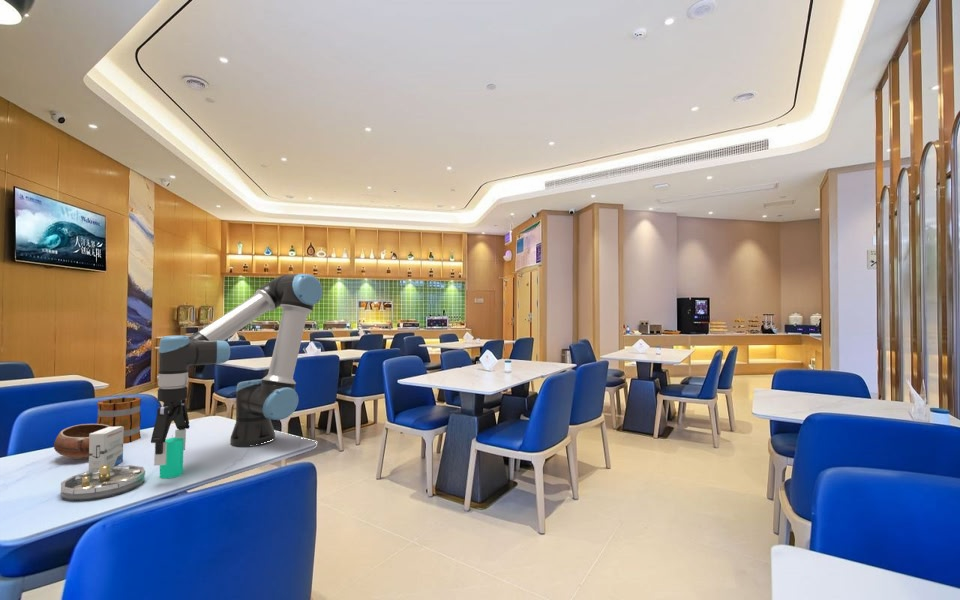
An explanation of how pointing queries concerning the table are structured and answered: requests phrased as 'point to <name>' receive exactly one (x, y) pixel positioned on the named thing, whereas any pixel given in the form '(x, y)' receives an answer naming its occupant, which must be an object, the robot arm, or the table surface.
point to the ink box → (106, 447)
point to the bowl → (76, 440)
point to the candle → (173, 459)
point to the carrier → (102, 483)
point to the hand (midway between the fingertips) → (170, 457)
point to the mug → (121, 416)
